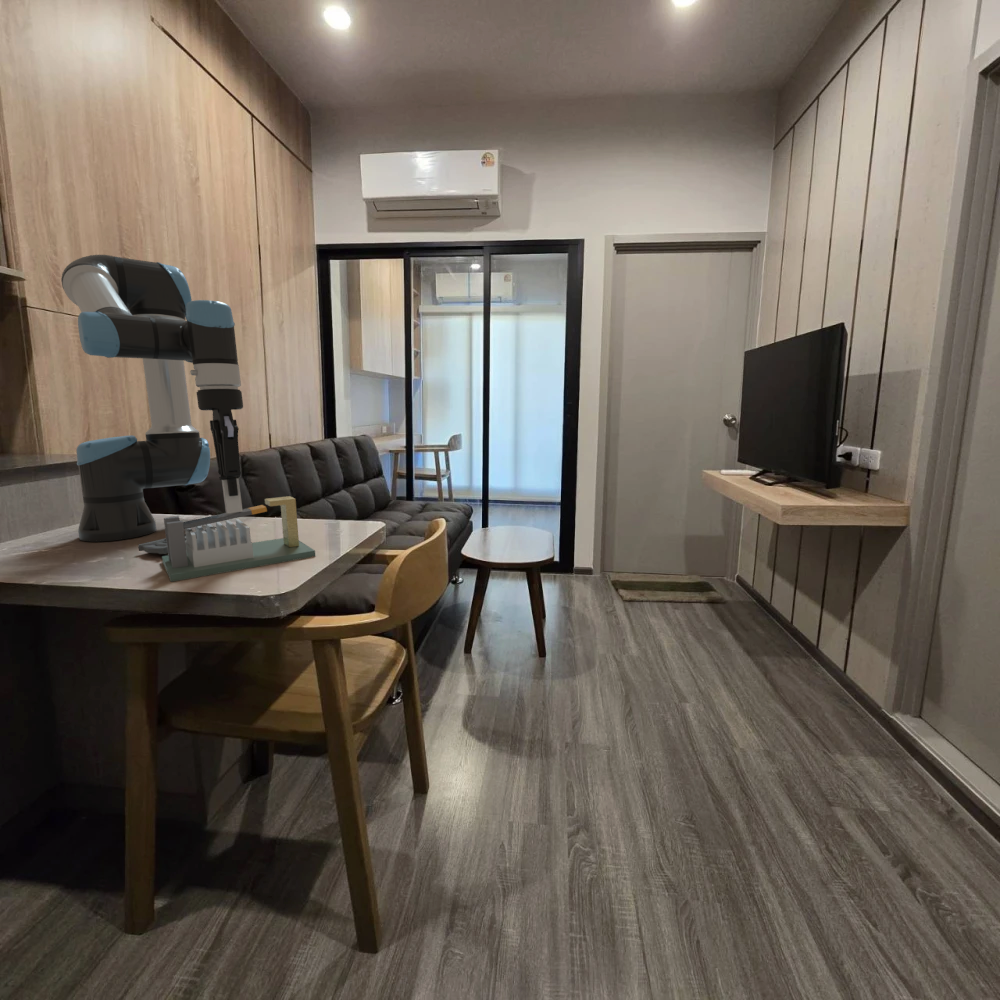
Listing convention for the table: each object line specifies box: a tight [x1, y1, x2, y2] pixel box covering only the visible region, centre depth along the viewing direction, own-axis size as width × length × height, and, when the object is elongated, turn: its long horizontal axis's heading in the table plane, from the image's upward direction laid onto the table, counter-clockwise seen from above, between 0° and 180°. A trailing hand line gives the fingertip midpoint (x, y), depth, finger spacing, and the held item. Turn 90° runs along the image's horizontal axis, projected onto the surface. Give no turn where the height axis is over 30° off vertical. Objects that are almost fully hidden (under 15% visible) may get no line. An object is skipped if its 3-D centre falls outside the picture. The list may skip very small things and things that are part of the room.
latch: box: [264, 495, 300, 547], centre depth 107 cm, size 4×5×10 cm
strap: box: [183, 504, 268, 530], centre depth 100 cm, size 3×17×1 cm, turn 127°
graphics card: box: [137, 525, 216, 558], centre depth 113 cm, size 17×4×12 cm
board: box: [161, 515, 316, 582], centre depth 103 cm, size 15×25×10 cm, turn 127°
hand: (234, 511), depth 101 cm, fingers closed
